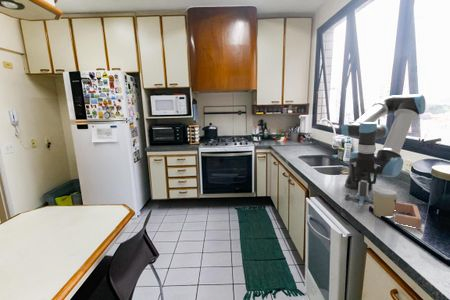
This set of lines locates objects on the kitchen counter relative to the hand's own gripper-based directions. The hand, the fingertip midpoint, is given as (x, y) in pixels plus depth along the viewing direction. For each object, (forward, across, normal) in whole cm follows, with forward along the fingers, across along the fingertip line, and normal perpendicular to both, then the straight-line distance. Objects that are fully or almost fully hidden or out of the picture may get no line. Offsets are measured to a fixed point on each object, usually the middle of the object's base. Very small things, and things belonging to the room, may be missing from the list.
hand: (362, 194), depth 122 cm
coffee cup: (+4, +9, -12) cm, 16 cm away
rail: (+4, +5, 0) cm, 6 cm away
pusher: (+4, 0, -7) cm, 8 cm away
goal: (+4, +18, -12) cm, 22 cm away
